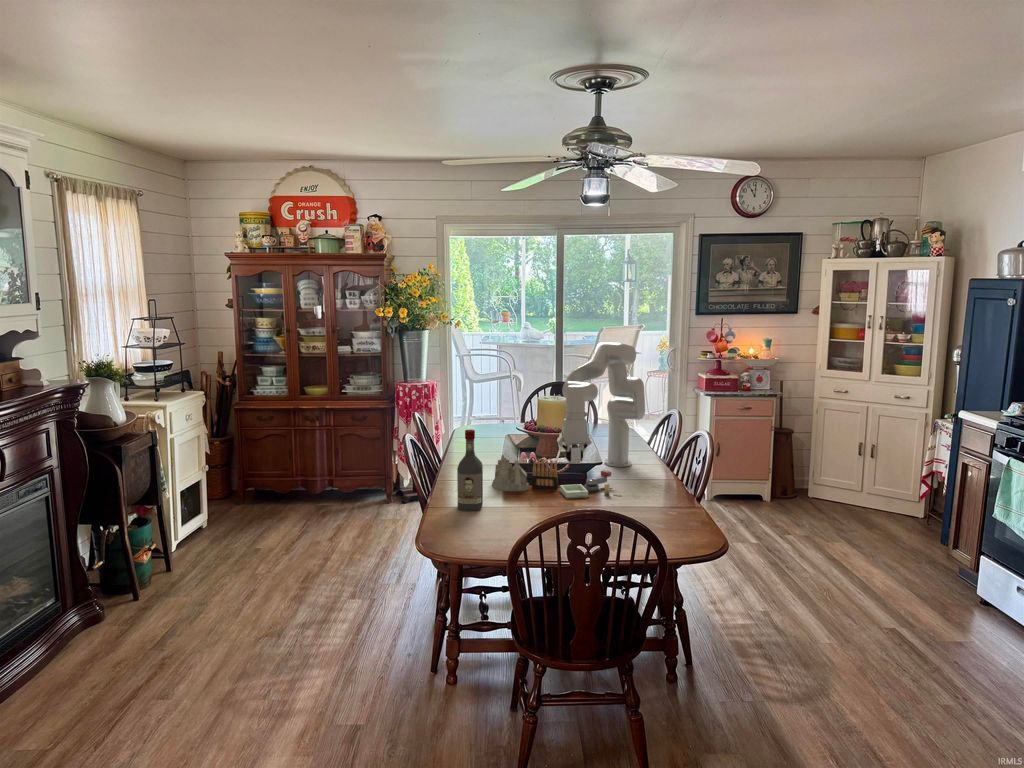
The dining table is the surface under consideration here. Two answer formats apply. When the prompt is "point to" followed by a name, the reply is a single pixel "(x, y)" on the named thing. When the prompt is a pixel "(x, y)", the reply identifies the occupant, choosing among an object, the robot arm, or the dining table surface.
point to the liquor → (470, 477)
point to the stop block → (575, 454)
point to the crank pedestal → (596, 489)
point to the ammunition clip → (544, 476)
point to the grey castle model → (509, 476)
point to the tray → (573, 491)
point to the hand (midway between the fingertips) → (574, 459)
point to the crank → (599, 479)
